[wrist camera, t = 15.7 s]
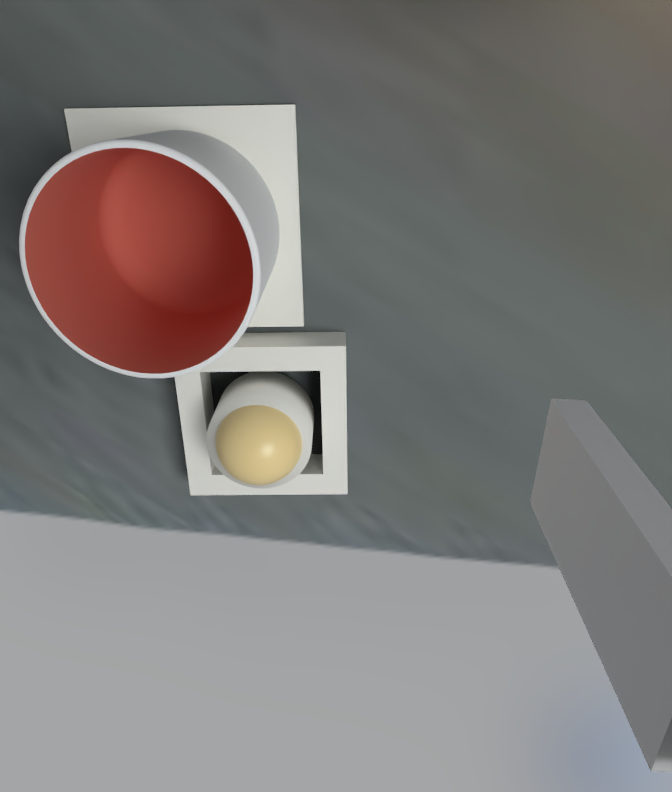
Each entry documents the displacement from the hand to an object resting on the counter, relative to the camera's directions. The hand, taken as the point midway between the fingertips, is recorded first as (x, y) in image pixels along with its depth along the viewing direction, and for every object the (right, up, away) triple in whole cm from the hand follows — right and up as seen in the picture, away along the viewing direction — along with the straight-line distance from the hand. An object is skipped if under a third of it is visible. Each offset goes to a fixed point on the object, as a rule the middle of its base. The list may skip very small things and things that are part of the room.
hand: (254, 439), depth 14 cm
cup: (-6, +11, +21) cm, 24 cm away
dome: (-2, 0, +25) cm, 25 cm away
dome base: (-2, 0, +26) cm, 26 cm away
